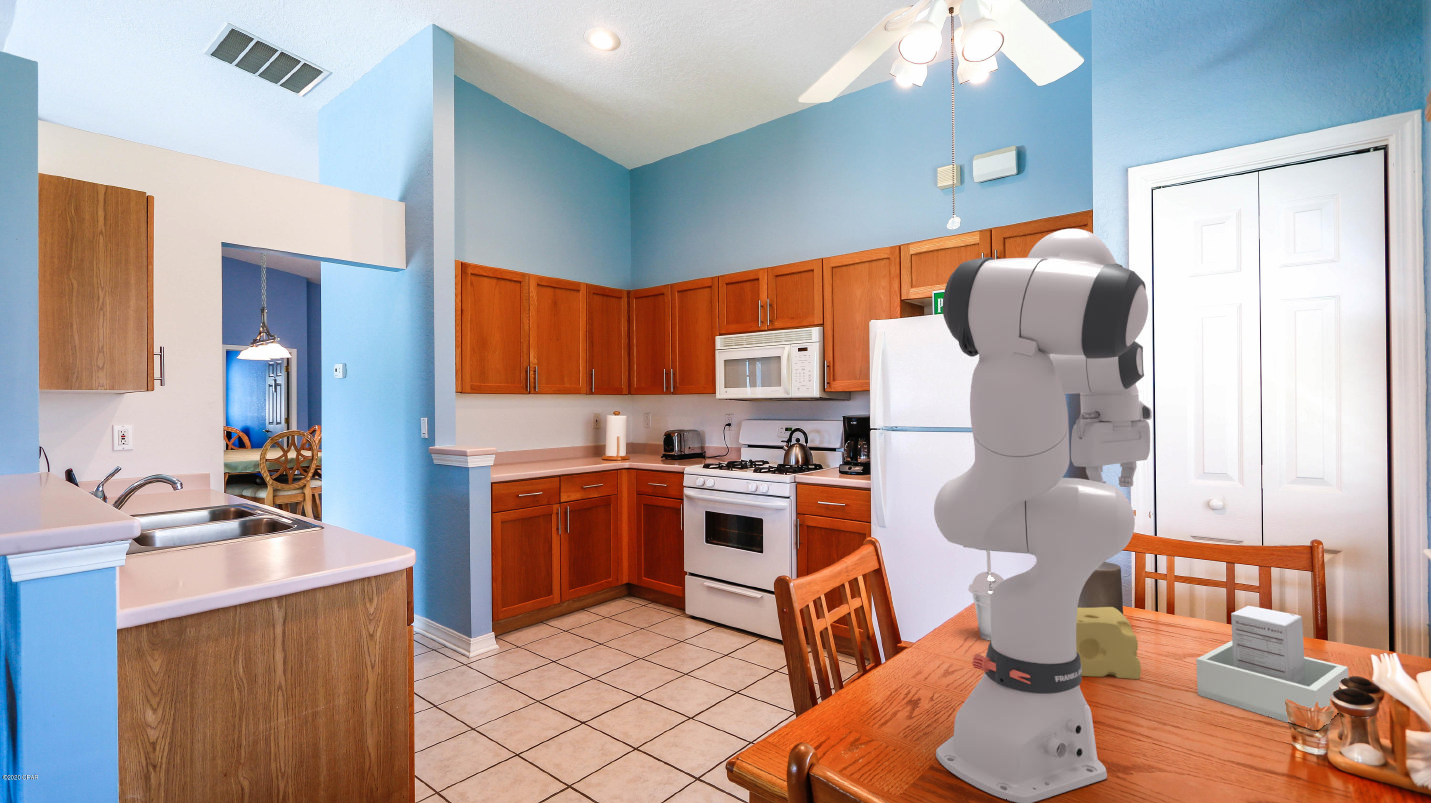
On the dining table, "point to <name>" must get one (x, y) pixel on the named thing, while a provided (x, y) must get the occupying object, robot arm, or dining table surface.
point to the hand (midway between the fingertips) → (1112, 489)
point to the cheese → (1106, 643)
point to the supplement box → (1269, 643)
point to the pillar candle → (1103, 588)
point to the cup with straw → (984, 597)
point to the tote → (1265, 684)
